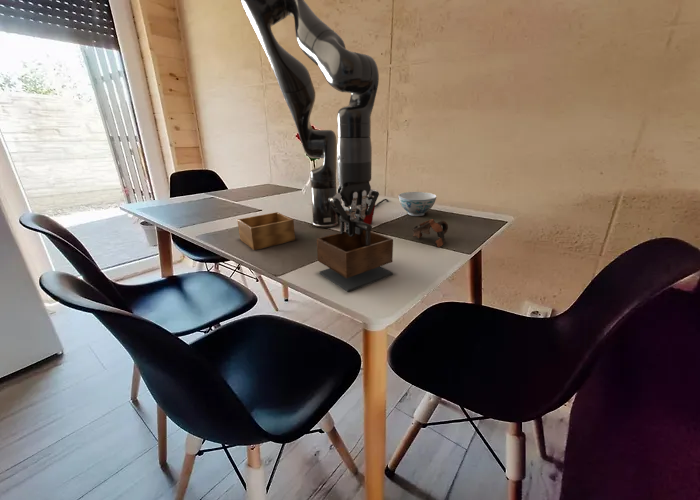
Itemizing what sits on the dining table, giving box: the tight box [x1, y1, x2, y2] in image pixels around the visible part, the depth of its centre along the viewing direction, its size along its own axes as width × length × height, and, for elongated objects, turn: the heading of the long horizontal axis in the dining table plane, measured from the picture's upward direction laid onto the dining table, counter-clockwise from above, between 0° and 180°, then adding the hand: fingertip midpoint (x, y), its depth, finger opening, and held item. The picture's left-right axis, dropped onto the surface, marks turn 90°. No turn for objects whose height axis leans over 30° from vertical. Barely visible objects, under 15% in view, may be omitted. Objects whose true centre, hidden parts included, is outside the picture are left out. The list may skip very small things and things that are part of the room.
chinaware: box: [398, 191, 437, 217], centre depth 128 cm, size 15×15×8 cm
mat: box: [319, 266, 394, 293], centre depth 78 cm, size 14×12×1 cm
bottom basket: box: [236, 211, 296, 251], centre depth 101 cm, size 14×12×7 cm
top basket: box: [316, 218, 394, 278], centre depth 75 cm, size 14×12×11 cm
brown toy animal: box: [412, 218, 449, 248], centre depth 98 cm, size 12×10×8 cm
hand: (354, 234), depth 74 cm, fingers closed on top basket
